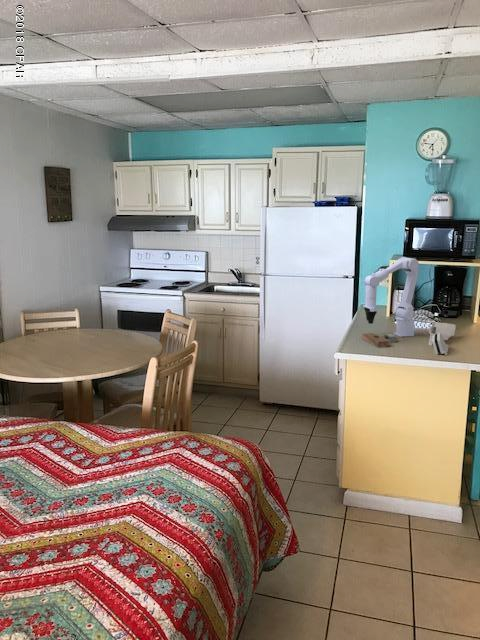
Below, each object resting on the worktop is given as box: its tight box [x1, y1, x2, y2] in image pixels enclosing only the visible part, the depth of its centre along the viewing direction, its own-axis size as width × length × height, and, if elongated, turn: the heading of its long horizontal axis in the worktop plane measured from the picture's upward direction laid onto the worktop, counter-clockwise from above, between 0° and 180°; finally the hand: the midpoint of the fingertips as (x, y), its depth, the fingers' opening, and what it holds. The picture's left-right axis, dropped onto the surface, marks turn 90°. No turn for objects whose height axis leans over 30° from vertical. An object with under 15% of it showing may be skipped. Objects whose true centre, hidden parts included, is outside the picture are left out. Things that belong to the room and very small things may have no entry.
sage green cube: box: [384, 333, 396, 344], centre depth 287 cm, size 4×4×4 cm
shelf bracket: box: [428, 321, 457, 346], centre depth 289 cm, size 6×25×13 cm, turn 134°
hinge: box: [432, 333, 449, 356], centre depth 269 cm, size 17×5×10 cm, turn 156°
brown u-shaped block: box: [361, 332, 391, 348], centre depth 285 cm, size 7×18×3 cm, turn 14°
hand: (369, 321), depth 292 cm, fingers open, 7 cm apart
